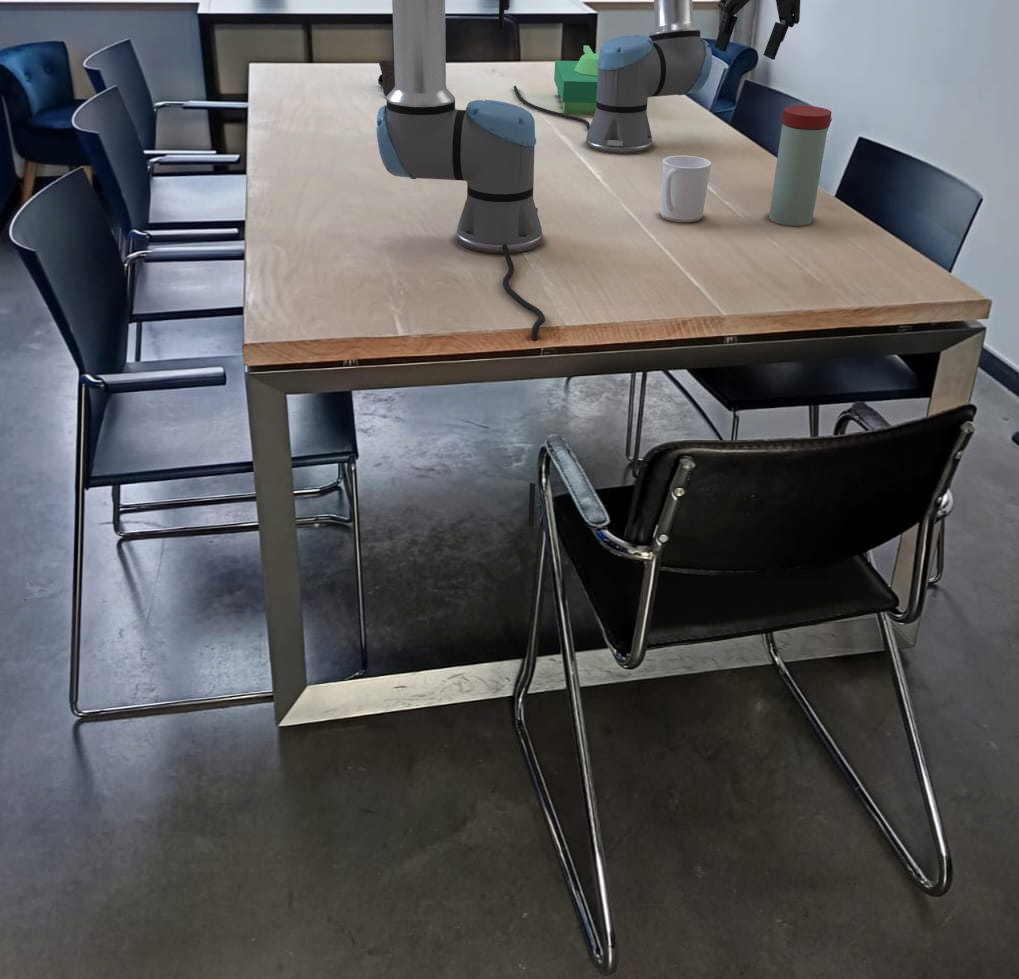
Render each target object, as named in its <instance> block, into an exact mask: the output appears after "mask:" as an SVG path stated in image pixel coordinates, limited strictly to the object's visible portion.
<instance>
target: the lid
mask: <svg viewBox="0 0 1019 979" xmlns="http://www.w3.org/2000/svg"><path fill="white" fill-rule="evenodd" d="M832 114H833V112H832V111H831V110H829V109H827V108H824V107H820V106H814V105H788V106H785V107H783V110H782V115H781V124H782V123H783V124H784V125H787V126H790V127H795V128H801V129H823V128H827V127H828V128H829V127H830V125H831V118H832Z"/></svg>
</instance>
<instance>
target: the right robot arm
mask: <svg viewBox="0 0 1019 979" xmlns="http://www.w3.org/2000/svg"><path fill="white" fill-rule="evenodd" d="M750 1H751V0H719V1H718V3H717V7H718V8H719V9H720V11H722V12H723V14H722V18H721V19H720V24H719V26H718V31H719V32H718V35H717V38H716V41H715V44H714V48H716V49H717V50H718V51H721V52H724V53H726V52H727V49H728V47H729V43H730V41H731V38H732V35H733V32H734V29H735V26H736V23H737V20H738V16H736V14H737V13H739V11H740V10H742V9H743V8H744V7H745V6H746V5H747V4H748V3H749V2H750ZM775 5H776V11H777V14H778V21H779V22H778V21H775V22H774V25H773V27H772V30H771V33H770V36H769V39H768V41H767V43H766V47H765V49H764V52H763V56H764V57H767V58H769V59H770V60H776V57H777V54H778V52H779V49H780V47H781V43H783V42H784V40H785V37H786V35H787V32H788V29H789V28H793V27H794V26H795V25H798V24H799V23H800V20H801V19H800V18H801V0H775ZM693 6H694V5H693V0H653V11H654V14H653V15H654V28H652V30H651V32H650V33H649V34H648V36H646V35H642V34H641V35H639V34H634V35H623V36H617V37H613V38H610V39H608V40H606V41H604V43H603V44H602V45H601V46H600V49H599V53H598V54H599V60H598V82H597V100H596V111H595V114H593V117H592V120H591V123H590V122H589V121H588V120H587V119H585V118H581V117H579V116H575V115H570V114H564V113H563V112H558V111H555V110H551V109H547V108H544V107H541V106H539V105H536V104H533V103H531V102H529V101H527V100H525V99H524V98H523V97H522V96H521V93H520V91H519V89H518V87H517V85H513V90H514V93H515V95H516V97H517V98H518V100H519V101H520V102H521V103H523V104H524V105H526V106H527V107H529V108H532V109H534V110H536V111H538V112H539V111H540V112H543V113H545V114H548V115H552V116H556V117H559V118H564V119H568V120H572V121H576V122H579V123H583V124H585V126H586V129H587V130H588V131H587V133H586V138H585V145H586V147H587V148H589V149H591V150H594V151H597V152H603V153H608V154H623V155H625V154H627V155H628V154H638V153H639V154H641V153H644V152H647V151H650V150H651V149H652V148H653V147H652V146H653V135H652V132H651V128H650V122H649V118H648V112H647V110H648V99H649V98H655V97H667V96H668V97H669V96H684V95H687V94H688V95H689V94H694V93H696V92H698V91H700V90H701V89H702V88H703V87H704V86H705V84H706V83H707V81H708V79H709V77H710V75H711V71H712V66H713V52H712V48H711V47H710V44H709V42H708V41H707V40H705V39H703V38H702V37H701V28H700V27H699V26H697V24H696V23H695V21H694V10H693V9H694V8H693Z"/></svg>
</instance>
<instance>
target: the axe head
mask: <svg viewBox="0 0 1019 979" xmlns="http://www.w3.org/2000/svg"><path fill="white" fill-rule="evenodd" d="M378 66H379V68H380V72H381V74H379V75H378V79H377V84H378V85H379V86H380V87H381V88H382V89H383V95H384V96H385V97H387V96H388V94H389V93H390V92H391V91H392V90H393V89H394V87H395V68H394V60H388V59H387V60H380V61H379V62H378Z"/></svg>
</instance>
